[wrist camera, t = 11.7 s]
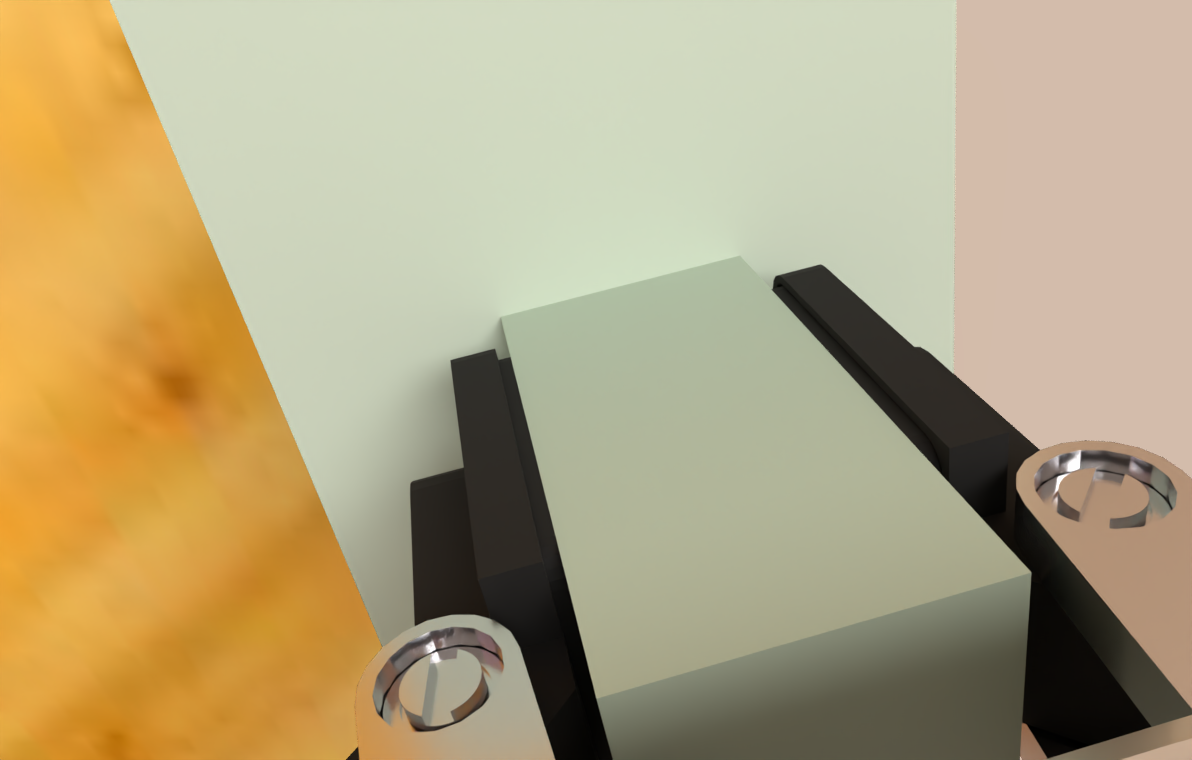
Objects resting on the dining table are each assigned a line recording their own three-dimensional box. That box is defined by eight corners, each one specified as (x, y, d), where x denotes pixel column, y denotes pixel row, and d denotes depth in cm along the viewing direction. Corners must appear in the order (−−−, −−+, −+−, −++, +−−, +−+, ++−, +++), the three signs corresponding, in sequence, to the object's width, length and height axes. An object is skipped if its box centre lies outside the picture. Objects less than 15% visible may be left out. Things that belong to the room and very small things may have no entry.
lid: (920, 515, 15) (1266, 930, 9) (407, 660, 15) (419, 1208, 9) (904, -633, 9) (2119, -1833, 3) (-49, -458, 8) (-1437, -1516, 2)
